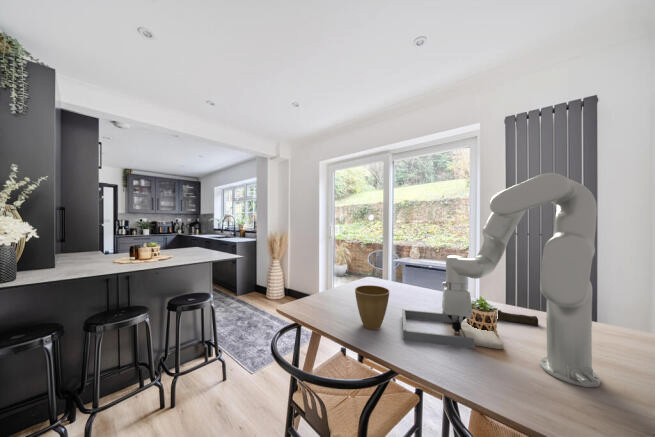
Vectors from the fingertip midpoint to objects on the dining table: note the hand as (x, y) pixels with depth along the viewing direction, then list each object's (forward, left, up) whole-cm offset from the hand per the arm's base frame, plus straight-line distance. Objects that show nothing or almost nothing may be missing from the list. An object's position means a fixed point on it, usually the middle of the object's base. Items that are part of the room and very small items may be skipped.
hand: (456, 330), depth 96 cm
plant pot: (-3, +34, -1) cm, 34 cm away
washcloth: (0, -8, -2) cm, 8 cm away
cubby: (0, +9, -1) cm, 9 cm away
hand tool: (+18, -26, -2) cm, 32 cm away
